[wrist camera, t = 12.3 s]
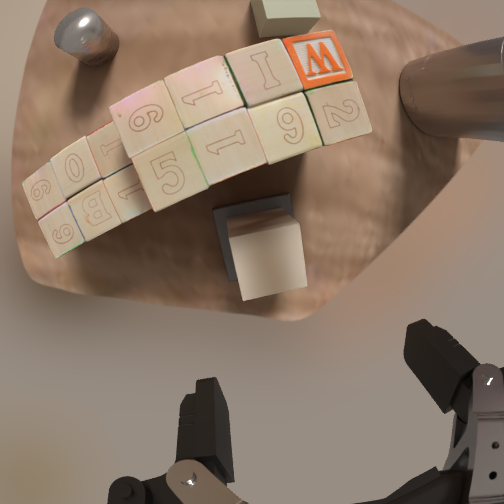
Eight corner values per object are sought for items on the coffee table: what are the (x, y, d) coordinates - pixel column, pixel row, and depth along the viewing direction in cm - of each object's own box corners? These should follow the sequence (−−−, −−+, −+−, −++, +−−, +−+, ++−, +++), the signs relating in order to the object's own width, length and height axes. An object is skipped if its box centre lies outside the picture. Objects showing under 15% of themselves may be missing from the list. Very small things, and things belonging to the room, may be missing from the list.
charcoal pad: (288, 193, 26) (290, 194, 25) (298, 262, 29) (300, 265, 28) (212, 208, 26) (212, 210, 25) (229, 278, 28) (229, 281, 28)
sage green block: (295, -1, 20) (307, -21, 15) (305, 35, 21) (320, 17, 17) (250, 1, 19) (256, -21, 15) (259, 37, 21) (267, 18, 17)
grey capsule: (117, 25, 19) (96, 0, 13) (121, 57, 20) (98, 36, 14) (81, 40, 18) (54, 21, 13) (83, 72, 20) (54, 57, 14)
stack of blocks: (99, 226, 25) (32, 278, 14) (74, 168, 23) (-8, 187, 11) (308, 138, 25) (377, 133, 13) (285, 77, 23) (336, 27, 11)
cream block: (281, 207, 26) (299, 223, 20) (289, 258, 28) (307, 286, 22) (226, 218, 26) (228, 238, 20) (237, 269, 27) (243, 300, 22)
